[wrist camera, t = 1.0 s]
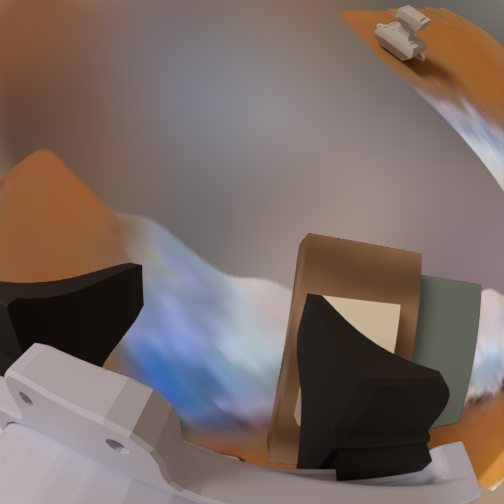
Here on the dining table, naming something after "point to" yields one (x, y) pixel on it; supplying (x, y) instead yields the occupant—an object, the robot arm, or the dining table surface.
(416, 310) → the panel
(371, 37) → the dining table surface
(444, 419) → the mat
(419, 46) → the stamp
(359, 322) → the beige flat block
